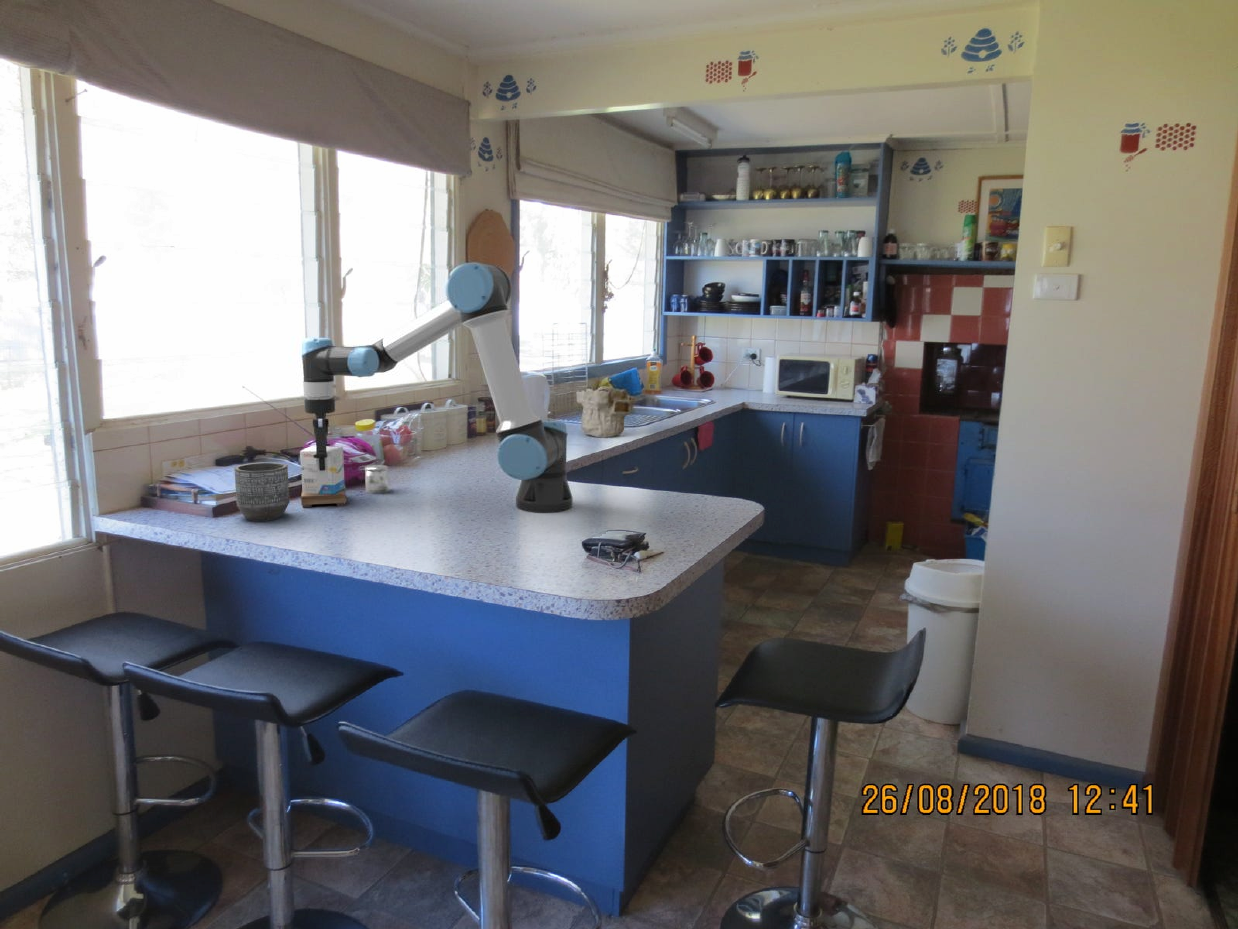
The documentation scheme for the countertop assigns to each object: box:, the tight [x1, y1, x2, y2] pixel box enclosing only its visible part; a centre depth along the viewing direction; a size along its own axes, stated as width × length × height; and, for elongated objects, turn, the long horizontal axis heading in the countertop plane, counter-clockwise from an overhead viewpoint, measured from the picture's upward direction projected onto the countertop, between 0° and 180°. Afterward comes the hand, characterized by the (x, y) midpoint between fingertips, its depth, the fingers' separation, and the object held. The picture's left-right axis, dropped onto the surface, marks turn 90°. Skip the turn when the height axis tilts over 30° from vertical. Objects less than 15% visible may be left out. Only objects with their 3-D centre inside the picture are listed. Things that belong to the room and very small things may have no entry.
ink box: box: [299, 445, 346, 494], centre depth 229 cm, size 9×8×12 cm
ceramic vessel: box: [576, 385, 636, 439], centre depth 353 cm, size 23×24×25 cm
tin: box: [364, 464, 389, 495], centre depth 243 cm, size 6×6×7 cm
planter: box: [234, 461, 290, 522], centre depth 213 cm, size 12×12×13 cm
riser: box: [300, 487, 347, 508], centre depth 230 cm, size 11×11×3 cm
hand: (323, 477), depth 229 cm, fingers open, 13 cm apart
